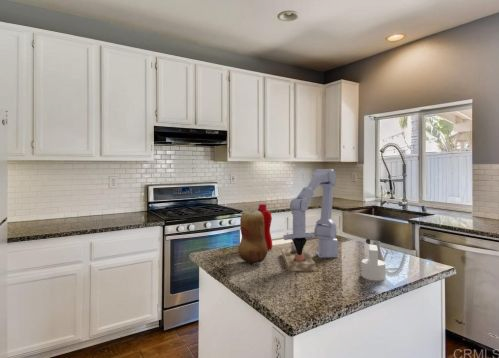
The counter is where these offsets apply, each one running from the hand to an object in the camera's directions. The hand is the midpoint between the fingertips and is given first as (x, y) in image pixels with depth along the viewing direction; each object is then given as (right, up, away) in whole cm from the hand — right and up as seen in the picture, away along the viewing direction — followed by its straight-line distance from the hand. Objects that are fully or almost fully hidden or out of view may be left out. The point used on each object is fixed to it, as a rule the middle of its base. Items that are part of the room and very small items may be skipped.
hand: (299, 254), depth 138 cm
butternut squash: (-21, -6, +5) cm, 22 cm away
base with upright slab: (+28, -6, -14) cm, 32 cm away
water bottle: (-16, -5, +30) cm, 34 cm away
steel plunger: (0, -2, +12) cm, 12 cm away
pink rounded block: (0, -4, 0) cm, 4 cm away
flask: (+37, -5, +4) cm, 38 cm away
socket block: (0, -5, +6) cm, 8 cm away
